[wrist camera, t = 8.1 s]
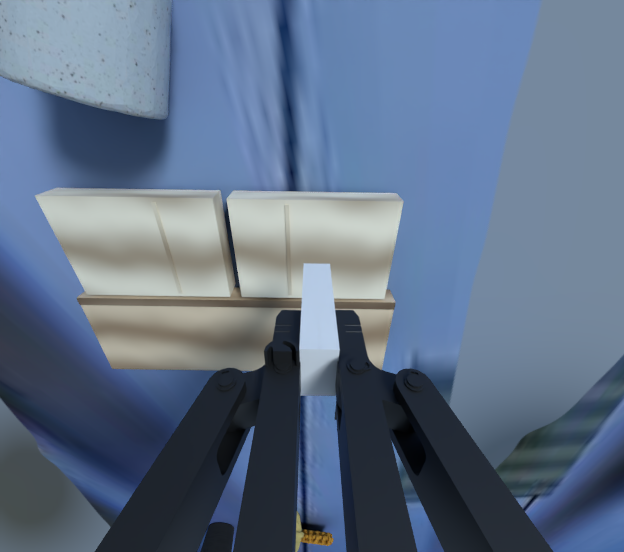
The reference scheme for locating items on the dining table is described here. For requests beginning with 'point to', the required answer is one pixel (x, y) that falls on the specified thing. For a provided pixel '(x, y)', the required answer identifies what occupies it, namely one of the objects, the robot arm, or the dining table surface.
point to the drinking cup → (218, 538)
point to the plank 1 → (143, 240)
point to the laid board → (210, 329)
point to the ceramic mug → (91, 51)
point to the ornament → (311, 536)
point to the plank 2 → (313, 240)
